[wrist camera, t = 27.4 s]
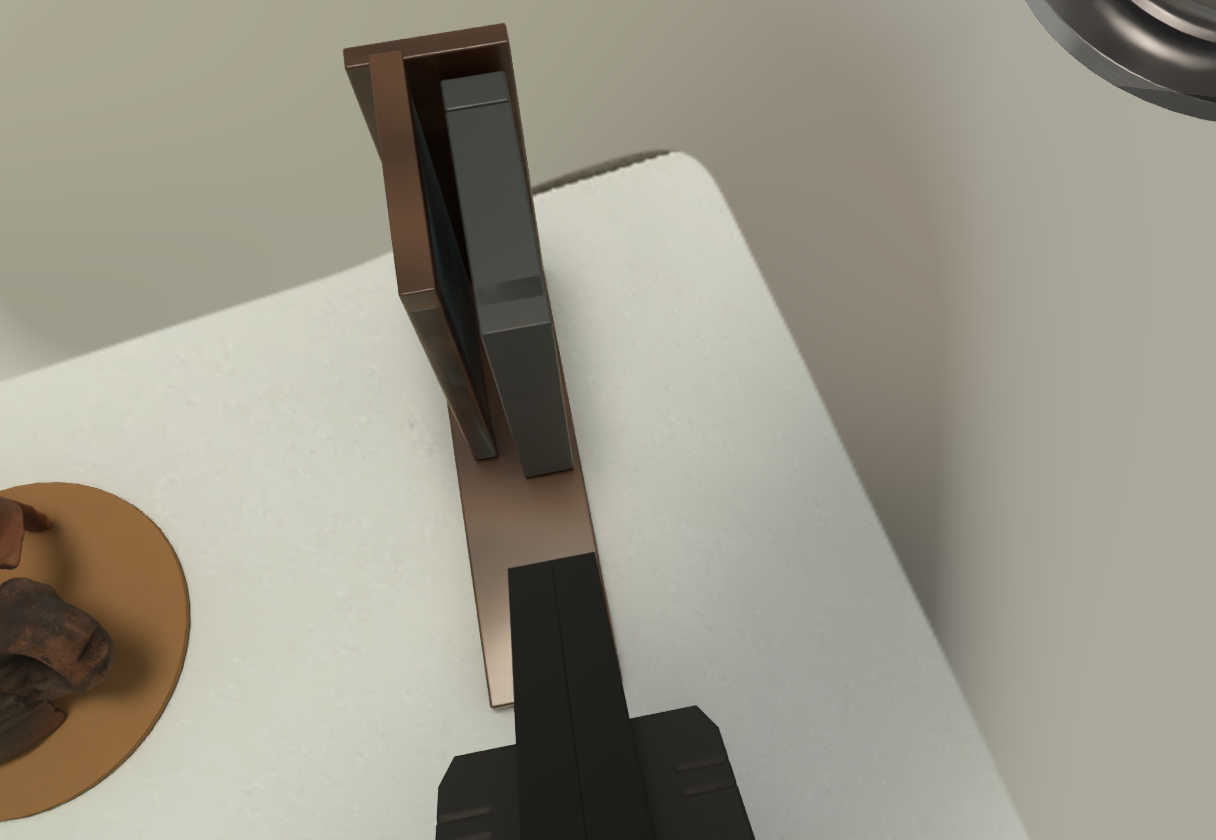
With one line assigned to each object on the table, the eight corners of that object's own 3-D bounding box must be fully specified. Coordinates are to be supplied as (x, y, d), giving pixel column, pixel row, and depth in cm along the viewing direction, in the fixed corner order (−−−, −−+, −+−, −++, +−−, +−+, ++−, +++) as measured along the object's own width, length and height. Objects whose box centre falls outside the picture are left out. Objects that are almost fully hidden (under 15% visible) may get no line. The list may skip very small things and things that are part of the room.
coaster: (231, 509, 39) (227, 507, 39) (126, 850, 35) (120, 851, 34) (-64, 463, 40) (-71, 460, 40) (-205, 789, 35) (-214, 789, 35)
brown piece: (622, 685, 36) (623, 624, 22) (494, 710, 36) (410, 666, 22) (543, 268, 43) (503, 11, 28) (433, 288, 43) (338, 38, 28)
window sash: (574, 468, 38) (552, 323, 26) (525, 478, 38) (480, 336, 26) (538, 279, 41) (504, 69, 29) (493, 287, 41) (438, 79, 29)
